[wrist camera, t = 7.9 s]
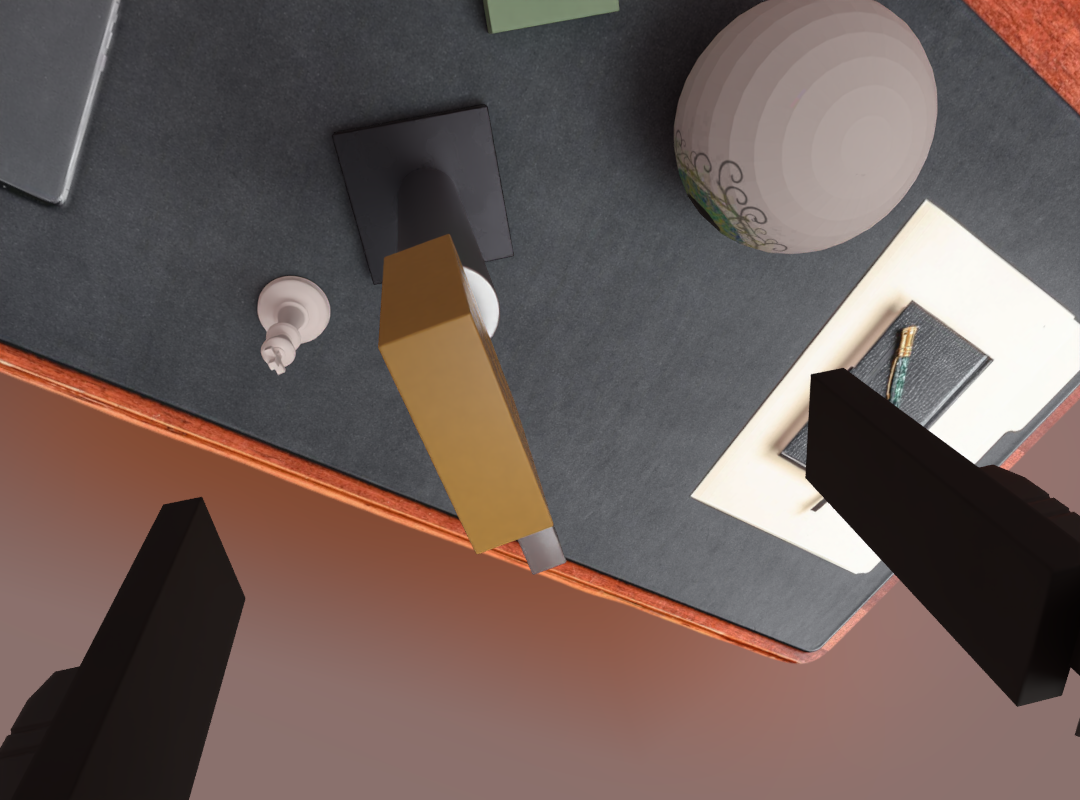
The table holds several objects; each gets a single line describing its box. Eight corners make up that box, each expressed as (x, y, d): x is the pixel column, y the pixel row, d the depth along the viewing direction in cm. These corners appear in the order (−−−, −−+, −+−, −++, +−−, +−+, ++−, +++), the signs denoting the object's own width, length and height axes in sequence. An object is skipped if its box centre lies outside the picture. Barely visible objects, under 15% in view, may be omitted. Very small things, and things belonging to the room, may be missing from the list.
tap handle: (384, 242, 26) (377, 346, 17) (446, 219, 26) (470, 312, 17) (518, 550, 33) (560, 733, 25) (566, 532, 33) (625, 708, 25)
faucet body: (333, 132, 46) (279, 211, 25) (485, 103, 47) (555, 158, 26) (374, 278, 51) (357, 449, 30) (511, 250, 52) (588, 397, 31)
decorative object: (603, 86, 48) (682, 104, 35) (797, -56, 46) (957, -94, 33) (701, 262, 55) (797, 334, 42) (873, 145, 53) (1030, 181, 40)
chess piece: (310, 265, 50) (291, 313, 41) (342, 326, 52) (331, 385, 43) (244, 291, 50) (211, 345, 41) (279, 351, 52) (255, 415, 43)
